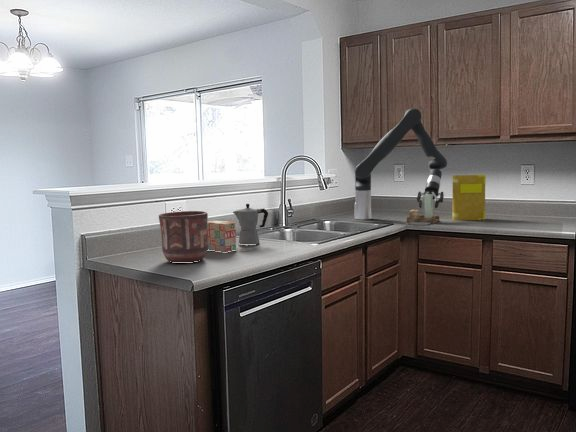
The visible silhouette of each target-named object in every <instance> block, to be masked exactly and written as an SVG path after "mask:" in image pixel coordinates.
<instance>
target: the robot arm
mask: <svg viewBox="0 0 576 432" xmlns="http://www.w3.org/2000/svg"><path fill="white" fill-rule="evenodd" d="M421 122H422V112H421V111H420V110H419V109H418V108H415V107H414V108H413V107H412V108H409V109H407V110H406V111H405V112H404V115H403V116H402V118H401V120H400V121H399V122H398V123H397V124H396V125H395V126H394V127H393V128H392V129H390V130H389V131H388V132H387V133H386V134H384V136H383V137H381V139H380V140H379V141H378V142H377V144H376V145H375V146H374V148H373V149H372V150H371V152H370V153H369V154H368V156H367V157H365V159H363V160H362V161H361V162H360V163H359V164H358V165H356V167H355V169H354V173H355V174H354V175H355V176H354V178H355V179H354V180H355V182H354V183H355V184H354V190H355V193H354V194H355V197H354V198H355V202H354V203H353V207H354V209H353V211H354V212H353V213H354V214H353V215H354V220H371V219H372V171H373V170H374V169H375V168H376V166H377V165H378V164H380V163H381V161H383V160H384V159H385V158H386V157H388V155H389V154H390V153H392V151H394V150H395V148H396V147H397V146H398V144H400V143H401V142H402V140H403V139H404V137H405V136H406V135H407V133H408V132H410V131H412V132H413V133H414V135H415V137H416V138H417V141H418V143H419V145H420V146H421V149H422V151H423V152H424V154H425V156H426V157H427V158H430V157H431V158H433V159H431V160H430V161H429V162H428V164H427V165H428V166H427V167H428V178H427V180H426V184H425V188H424V191H423V192H421V191H418V193H417V196H416V201H417V203H418V206H419V208H420V209H422V208H423V203H425V195H426V194H433V200H434V201H435V204H434V209H437V208H438V207H439V205H440V203H443V202H444V197H445V193H444V191H441V192H440V187H441V180H442V174H443V173H442V171H441V170H442V169H445V168H447V165H448V161H447V159H446V157H445V156H444V155H443V154H442V153H441V152H440V151H439V150H438V149H437V147H436V145H435V143H434V141H433V139H432V138H431V136H430V135H429V133H428V132H427V130H426V129H425V127H424V125H423V123H421ZM425 130H426V131H425ZM438 197H439V198H438Z"/></svg>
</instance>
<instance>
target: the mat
mask: <svg viewBox="0 0 576 432" xmlns="http://www.w3.org/2000/svg"><path fill="white" fill-rule="evenodd" d="M431 224H432V223H427V222H412V223H408V225H409V226H429V225H431Z"/></svg>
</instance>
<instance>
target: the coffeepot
mask: <svg viewBox="0 0 576 432" xmlns="http://www.w3.org/2000/svg"><path fill="white" fill-rule="evenodd" d="M245 207H246V208H242V209H237V210H234V211H233V212H232V213H233V214H234V215H235V217H236V219H238V222H239V226H240V231H239V238H238V239H239V240H238V244H239V243H240V244H258V243H260V238H259V233H258V230H257V226H258V219H259V218H258V217H259V214H262V213H263V218H262V220H261V221H262V224H260V225H259V228H264V227H265V226H266V222H267V219H268V216H269V212H268V211H267V209H266V208H256V209H254V208H251V207H250V203H246V204H245Z"/></svg>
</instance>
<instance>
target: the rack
mask: <svg viewBox="0 0 576 432" xmlns="http://www.w3.org/2000/svg"><path fill="white" fill-rule="evenodd" d="M412 222H427V223H431V224H433V225H435V224H437V223H438V222H440V215H433V217H432V218H425V214H424V215H423V214H422V215H421V214H420V217H409V216H407V217H406V223H408V224H409V223H412Z"/></svg>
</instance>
